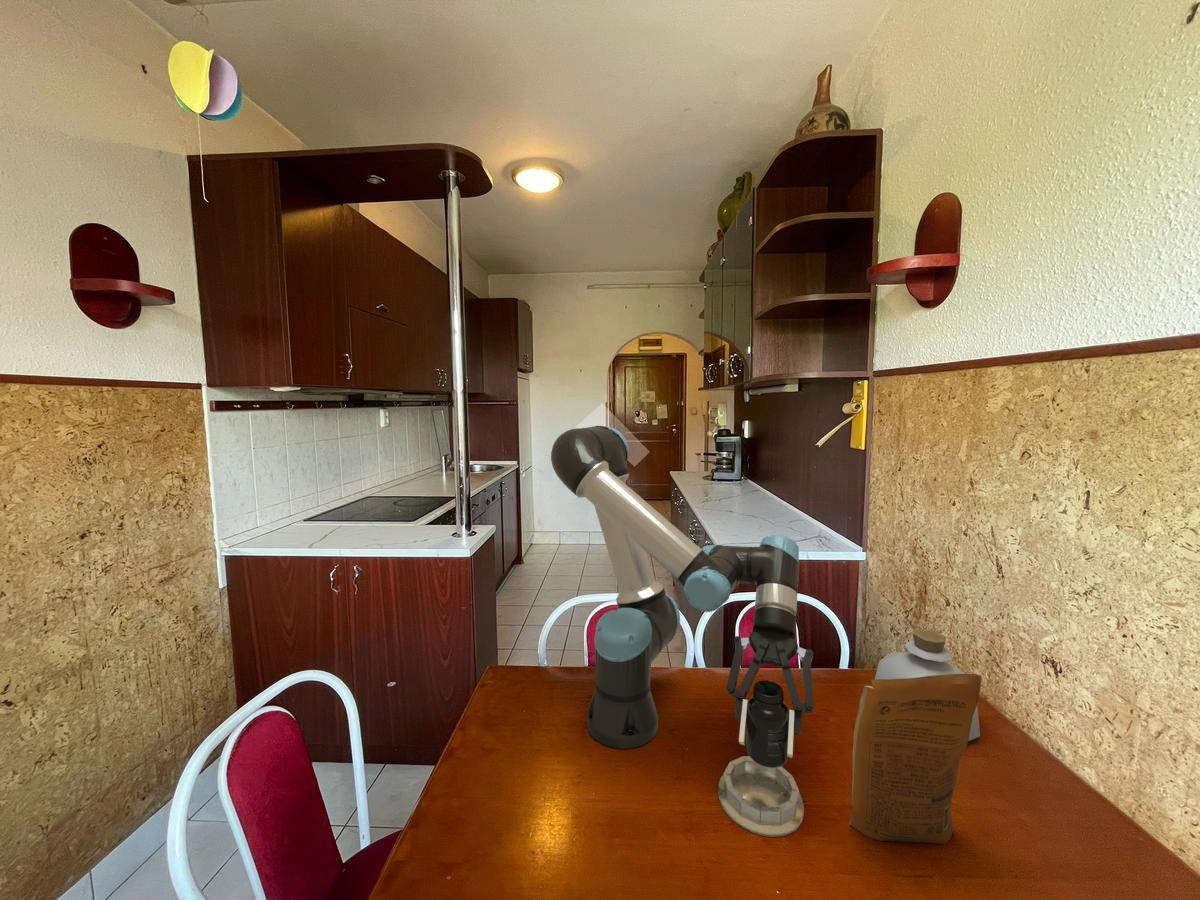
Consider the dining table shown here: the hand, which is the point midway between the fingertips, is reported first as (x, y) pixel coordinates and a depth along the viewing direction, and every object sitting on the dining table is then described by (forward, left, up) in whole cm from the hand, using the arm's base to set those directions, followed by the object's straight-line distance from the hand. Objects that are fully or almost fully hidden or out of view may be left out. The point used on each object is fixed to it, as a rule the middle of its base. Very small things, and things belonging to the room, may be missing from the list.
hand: (765, 749), depth 80 cm
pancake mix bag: (+20, +10, -13) cm, 25 cm away
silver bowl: (-1, +3, -12) cm, 13 cm away
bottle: (+23, +45, -13) cm, 52 cm away
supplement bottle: (-1, +4, -4) cm, 5 cm away
